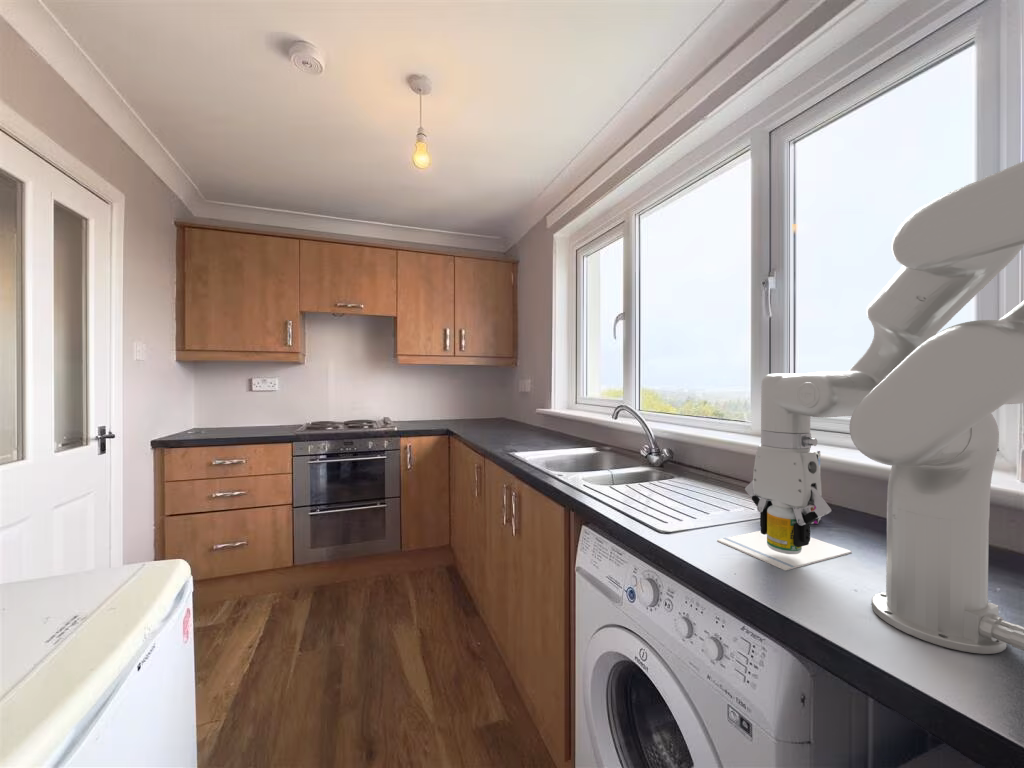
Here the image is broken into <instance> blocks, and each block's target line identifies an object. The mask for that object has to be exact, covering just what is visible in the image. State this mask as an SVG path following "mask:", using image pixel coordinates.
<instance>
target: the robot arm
mask: <svg viewBox="0 0 1024 768" xmlns="http://www.w3.org/2000/svg"><path fill="white" fill-rule="evenodd" d="M1023 248H1024V160H1023V161H1020V162H1018V163H1016V164H1014V165H1011V166H1008V167H1007V168H1005V169H1004V168H1003V169H1002V170H999V171H997V172H995V173H992V174H990V175H988V176H985V177H983V178H981V179H978V180H976V181H973V182H970V183H968V184H966V185H964V186H962V187H960V188H957V189H955V190H952V191H950V192H948V193H945V194H944V195H942V196H939V197H937V198H936V199H933V200H931V201H930V202H928V203H926V204H924V205H922V206H921V207H919V208H917V209H916V210H915V211H913V212H912V213H911V214H910V215H909V216H907V217H906V218H905V219H904V221H903V222H901V224H900V225H899V226H898V227H897V229H896V231H895V232H894V236H893V238H892V242H891V253H892V256H893V257H894V259H895V260H896V261H897V262H898V264H899V265H901V267H900V269H899V270H898V271H897V272H896V273H895V274H894V275H893V277H891V279H890V280H889V281H888V282H887V284H885V286H884V287H883V288H882V289H881V291H880V292H879V293H878V294H877V295H876V296H875V297H874V299H872V301H870V303H869V304H868V306H867V307H866V310H865V311H866V313H865V314H866V315H867V316H866V317H867V319H868V320H869V321H870V323H871V325H872V326H873V339H872V342H871V343H870V346H869V347H868V348H867V349H866V351H865V353H864V354H862V356H861V357H860V358H859V359H858V360H857V361H856V362H855V364H853V365H852V367H850V369H848V370H847V371H816V372H807V373H769V374H766V375H765V376H764V377H763V378H762V379H761V386H760V389H761V391H760V395H761V396H760V397H761V400H760V411H761V412H760V444H759V445H758V446H757V448H756V449H757V450H756V454H755V457H754V466H753V473H752V474H753V477H752V480H751V481H750V482H749V484H748V485H746V486H745V488H744V491H745V492H746V493H747V494H748V496H749V497H750V498H751V501H752V502H753V503H754V504H755V506H756V510H757V511H758V512H759V513H760V514H759V515H760V517H759V523H760V525H759V527H760V531H761V534H764V535H765V534H767V509H768V507H770V506H771V505H773V504H772V502H771V501H772V500H774V501H775V500H778V501H779V502H781V503H783V504H786V505H788V506H792V507H793V510H794V513H795V516H796V520H797V523H796V524H794V534H793V544H794V546H796V547H801V546H805V545H808V544H809V541H810V537H811V525H812V524H814V521H816V520H817V519H819V518H822V517H824V516H826V515H828V514H830V513H831V512H832V508H831V507H830V506H829V504H828V503H827V502H826V501H825V499H824V498H823V496H822V495H823V494H822V479H821V476H820V473H821V471H820V469H821V468H820V469H819V464H818V459H817V456H816V452H815V451H816V450H814V451H812V450H811V448H812V447H816V446H817V444H818V439H817V438H813V437H812V433H811V417H812V418H819V419H820V418H825V419H827V418H838V417H840V418H841V417H850V420H849V425H848V426H849V435H850V439H851V441H852V443H853V445H854V446H855V447H856V449H857V450H858V451H859V452H860V453H861V454H862V455H864V456H865V457H867V458H869V459H870V460H872V461H874V462H877V463H880V464H882V465H885V466H886V465H887V466H891V467H890V472H889V475H888V483H887V491H886V492H887V495H886V496H887V498H886V555H885V556H886V557H885V559H886V565H885V567H886V568H885V570H886V572H885V573H886V575H885V579H886V580H885V582H886V583H885V591H883V592H879V593H876V594H874V595H873V596H871V609H872V610H873V612H874V613H875V614H876V615H877V616H878V617H879V618H880V619H882V620H883V621H885V622H886V623H888V624H889V625H891V626H892V627H894V628H895V629H897V630H899V631H901V632H903V633H905V634H907V635H910V636H912V637H915V638H917V639H919V640H922V641H924V642H927V643H931V644H934V645H937V646H940V647H943V648H947V649H951V650H955V651H960V652H965V653H971V654H980V655H982V654H983V655H990V654H991V655H992V654H998V653H1002V652H1004V651H1005V650H1006V648H1007V647H1008V646H1007V645H1011V647H1014V648H1015V649H1019V650H1021V651H1023V652H1024V626H1022V625H1019V624H1017V623H1012V622H1009V621H1006V620H1004V617H1003V616H1000V615H999V605H998V604H995V603H993V602H989V543H990V542H989V540H990V539H989V537H990V536H989V535H990V533H989V532H990V531H989V530H990V525H989V524H990V515H991V514H990V510H991V508H990V506H991V502H990V501H991V488H992V487H991V485H992V477H993V471H994V467H995V462H996V457H997V454H998V453H997V452H998V448H999V439H1000V434H999V433H1000V432H999V427H998V424H997V421H996V418H995V417H994V415H993V413H994V412H995V411H997V410H998V409H999V408H1001V407H1003V406H1004V405H1018V404H1024V300H1022V302H1020V303H1018V305H1016V306H1015V307H1014V308H1012V310H1010V311H1009V312H1008V313H1006V314H1005V315H1004V316H1002V317H1000V318H999V319H979V320H969V321H966V322H961V323H958V324H955V325H951V326H949V327H947V328H945V329H943V327H944V326H946V325H947V324H948V323H949V322H950V321H951V320H952V319H953V318H954V317H955V316H956V315H957V314H958V313H959V312H960V311H961V310H962V309H964V307H965V306H967V304H968V303H969V302H971V300H972V299H973V298H974V297H975V296H977V295H978V294H979V292H981V291H982V290H983V289H984V288H985V287H986V286H987V285H988V284H989V283H990V282H992V281H993V280H994V278H995V277H996V276H997V275H999V273H1000V272H1002V270H1003V269H1005V268H1006V267H1007V266H1009V264H1010V263H1011V262H1012V261H1013V260H1014V259H1015V258H1016V256H1018V254H1019V253H1020V251H1022V249H1023ZM941 329H943V330H941ZM809 505H812V506H816V509H815V510H814V511H812V512H811V509H810V506H809Z"/></svg>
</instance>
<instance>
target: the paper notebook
mask: <svg viewBox="0 0 1024 768" xmlns="http://www.w3.org/2000/svg"><path fill="white" fill-rule="evenodd" d="M716 541H717V542H718V543H721V544H724V545H726V546H728V547H730V548H732V549H735V550H737V551H740V552H742V553H744V554H746V555H749V556H751V557H753V558H755V559H757V560H760V561H762V562H765V563H767V564H769V565H772V566H774V567H776V568H779V569H781V570H783V571H786V572H787V571H789V570H792V569H796V568H800V567H804V566H808V565H812V564H814V563H815V564H816V563H818V562H823V561H827V560H830V559H834V558H837V557H842V556H845V555H850V554H852V553H853V551H852V550H849V549H847V548H844V547H840V546H838V545H835V544H832V543H829V542H826V541H823V540H819V539H818V538H814V537H811V536H810V541H809V544H808V545H805V546H802V549H801V552H800V553H799V554H784V553H780V552H777V551H774V550H772V549H771V548H769V547H768V545H767V534H765V535H764V534H761V530H757V531H753V532H748V533H743V534H737V535H734V536H727V537H722V538H718V539H717V540H716Z"/></svg>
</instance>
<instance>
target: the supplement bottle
mask: <svg viewBox="0 0 1024 768" xmlns="http://www.w3.org/2000/svg"><path fill="white" fill-rule="evenodd" d="M771 502H772V504H773V505H771V506H770V507H768V509H767V545H768V547H769V548H771V549H772V550H774V551H777V552H780V553H784V554H799V553H800V552H801V549H802V546H801V547H796V546H794V544H793V534H794V524H796V523H797V520H796V516H795V513H794V510H793V507H792V506H788V505H786V504H783V503H781V502H779V501H778V500H775V501H774V500H772V501H771Z"/></svg>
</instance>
